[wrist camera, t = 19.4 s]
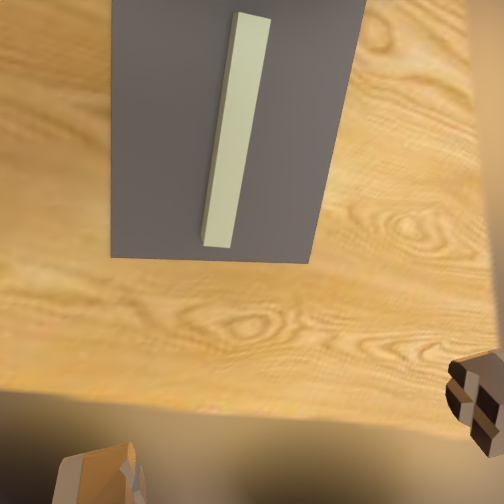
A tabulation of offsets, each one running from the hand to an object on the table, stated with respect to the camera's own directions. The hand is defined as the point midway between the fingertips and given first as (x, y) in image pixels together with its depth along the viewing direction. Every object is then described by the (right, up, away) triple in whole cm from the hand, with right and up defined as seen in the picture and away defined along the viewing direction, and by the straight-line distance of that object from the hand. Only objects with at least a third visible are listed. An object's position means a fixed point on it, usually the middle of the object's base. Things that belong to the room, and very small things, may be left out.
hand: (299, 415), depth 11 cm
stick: (-4, +16, +35) cm, 39 cm away
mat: (-4, +17, +36) cm, 39 cm away
